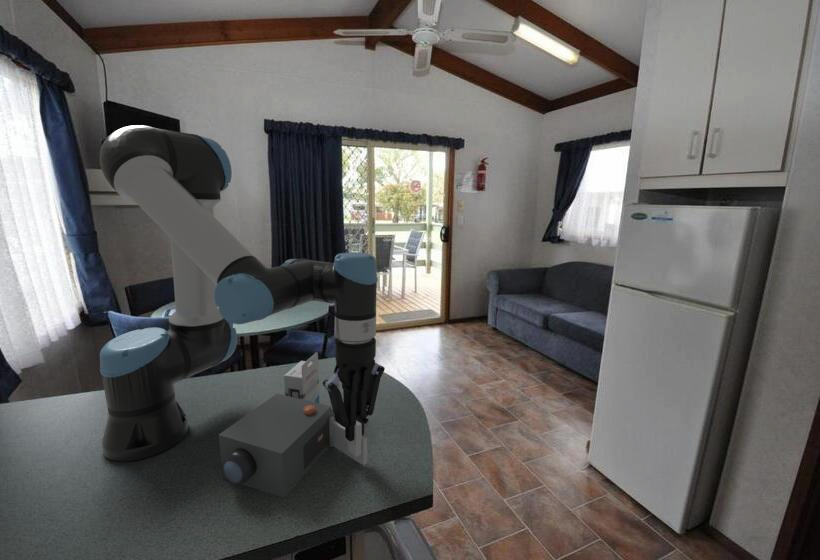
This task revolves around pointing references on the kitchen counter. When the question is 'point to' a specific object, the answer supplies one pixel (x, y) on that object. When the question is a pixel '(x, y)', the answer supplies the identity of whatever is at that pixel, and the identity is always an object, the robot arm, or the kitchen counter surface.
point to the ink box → (303, 380)
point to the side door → (342, 443)
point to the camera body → (276, 444)
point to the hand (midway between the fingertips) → (354, 452)
